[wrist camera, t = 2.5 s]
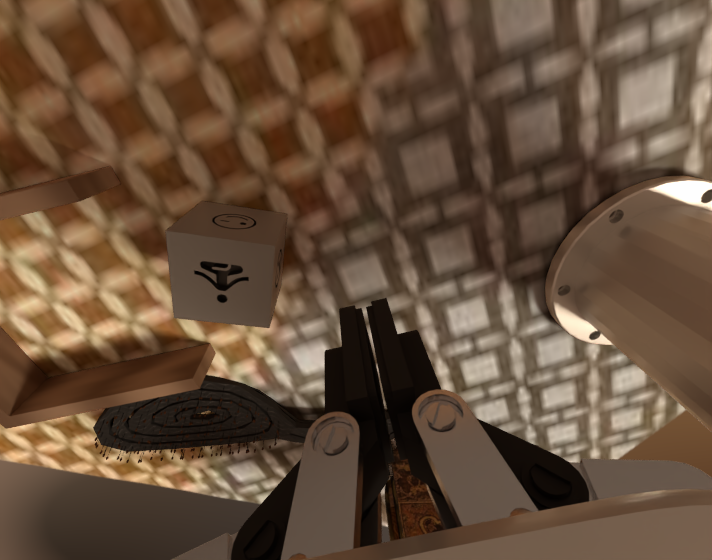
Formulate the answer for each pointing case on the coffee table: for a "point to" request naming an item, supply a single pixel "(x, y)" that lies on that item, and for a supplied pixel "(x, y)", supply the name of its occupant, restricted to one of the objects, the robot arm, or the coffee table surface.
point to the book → (408, 504)
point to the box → (97, 385)
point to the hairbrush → (200, 420)
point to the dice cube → (226, 264)
